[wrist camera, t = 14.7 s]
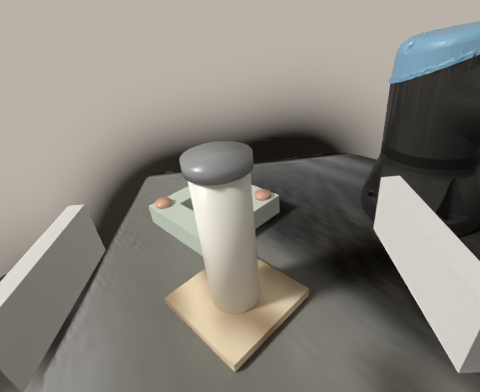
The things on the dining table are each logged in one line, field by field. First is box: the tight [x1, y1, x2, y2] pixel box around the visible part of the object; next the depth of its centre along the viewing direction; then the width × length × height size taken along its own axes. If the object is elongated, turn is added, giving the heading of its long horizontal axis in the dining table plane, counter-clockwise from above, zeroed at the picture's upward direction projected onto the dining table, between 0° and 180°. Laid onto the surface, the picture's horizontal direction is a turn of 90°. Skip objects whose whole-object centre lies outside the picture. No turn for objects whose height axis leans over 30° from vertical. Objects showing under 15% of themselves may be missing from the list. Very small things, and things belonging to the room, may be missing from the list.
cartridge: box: [180, 141, 260, 314], centre depth 28 cm, size 6×6×16 cm
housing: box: [149, 185, 280, 256], centre depth 46 cm, size 14×14×4 cm
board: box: [164, 258, 309, 372], centre depth 32 cm, size 11×11×1 cm
